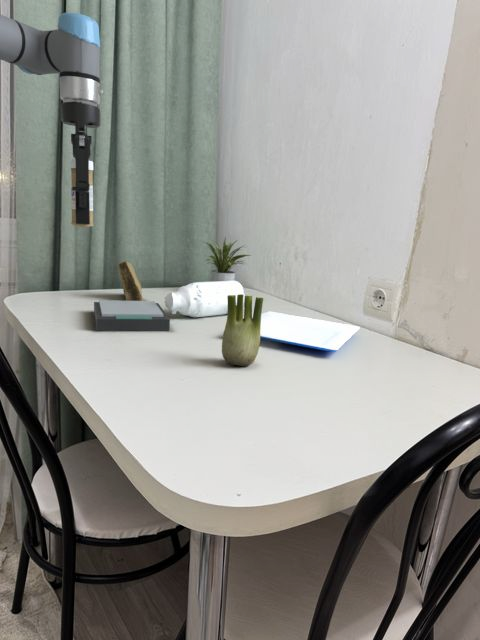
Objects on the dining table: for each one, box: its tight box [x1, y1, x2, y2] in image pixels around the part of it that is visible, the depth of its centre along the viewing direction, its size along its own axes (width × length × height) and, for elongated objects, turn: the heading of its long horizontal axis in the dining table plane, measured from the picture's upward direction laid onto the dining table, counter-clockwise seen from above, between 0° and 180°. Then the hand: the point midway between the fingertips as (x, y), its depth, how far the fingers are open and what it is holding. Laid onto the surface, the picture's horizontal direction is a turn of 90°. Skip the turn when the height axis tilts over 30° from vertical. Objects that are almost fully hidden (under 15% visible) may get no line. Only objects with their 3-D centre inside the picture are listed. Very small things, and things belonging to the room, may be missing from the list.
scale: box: [93, 299, 171, 332], centre depth 107 cm, size 16×14×3 cm
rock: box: [118, 260, 144, 301], centre depth 129 cm, size 11×9×10 cm
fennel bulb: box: [221, 294, 264, 367], centre depth 84 cm, size 6×5×12 cm
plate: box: [252, 310, 361, 353], centre depth 106 cm, size 22×22×2 cm
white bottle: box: [164, 279, 246, 319], centre depth 117 cm, size 8×19×8 cm, turn 132°
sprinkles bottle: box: [69, 158, 94, 228], centre depth 107 cm, size 5×5×14 cm
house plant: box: [204, 236, 251, 282], centre depth 146 cm, size 14×14×16 cm
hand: (82, 222), depth 108 cm, fingers closed on sprinkles bottle, 4 cm apart
